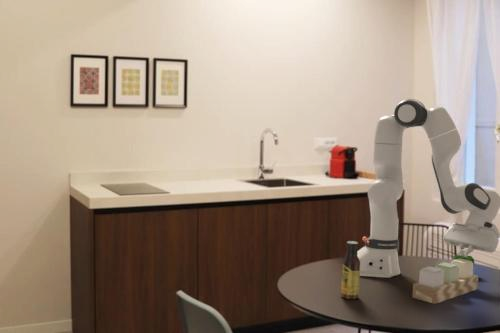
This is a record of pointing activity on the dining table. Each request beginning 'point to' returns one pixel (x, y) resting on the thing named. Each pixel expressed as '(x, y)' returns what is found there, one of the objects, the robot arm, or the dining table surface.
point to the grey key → (431, 277)
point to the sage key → (449, 272)
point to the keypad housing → (445, 290)
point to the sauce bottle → (350, 272)
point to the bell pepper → (464, 258)
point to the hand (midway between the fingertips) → (462, 255)
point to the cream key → (464, 267)
